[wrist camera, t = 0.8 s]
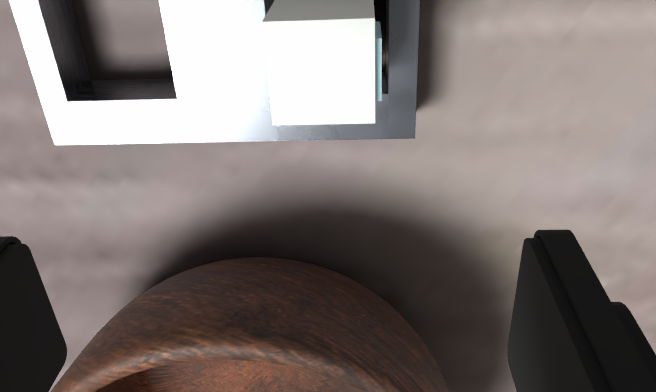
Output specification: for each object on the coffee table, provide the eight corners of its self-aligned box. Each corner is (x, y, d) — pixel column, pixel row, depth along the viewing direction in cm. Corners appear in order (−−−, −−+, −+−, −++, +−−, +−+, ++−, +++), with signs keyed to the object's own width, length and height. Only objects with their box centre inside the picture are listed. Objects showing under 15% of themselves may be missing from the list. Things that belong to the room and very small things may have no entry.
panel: (416, -98, 26) (423, -91, 23) (410, 114, 31) (415, 140, 28) (22, -80, 27) (-17, -72, 24) (79, 121, 32) (52, 147, 29)
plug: (377, -25, 27) (382, 18, 20) (377, 59, 29) (381, 123, 22) (287, -22, 28) (261, 21, 21) (293, 61, 30) (272, 125, 23)
